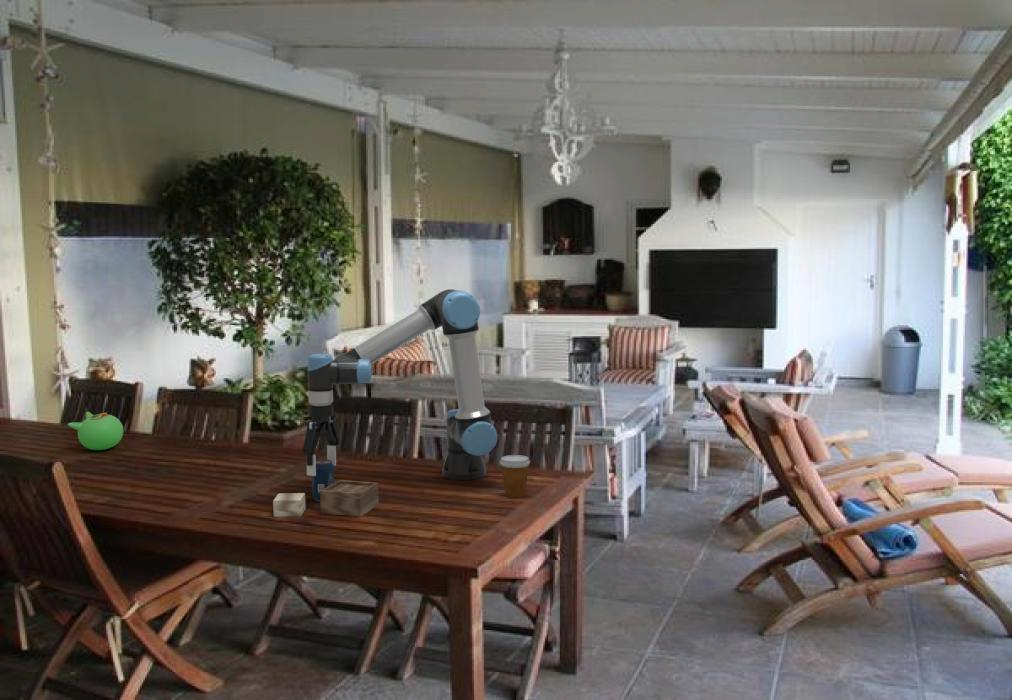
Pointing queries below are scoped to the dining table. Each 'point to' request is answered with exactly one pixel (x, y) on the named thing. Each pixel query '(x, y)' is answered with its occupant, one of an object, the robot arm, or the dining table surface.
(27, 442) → the dining table surface
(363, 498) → the wooden crate
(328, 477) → the soda can
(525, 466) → the disposable coffee cup
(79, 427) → the toy bird
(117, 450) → the dining table surface
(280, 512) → the beech block
